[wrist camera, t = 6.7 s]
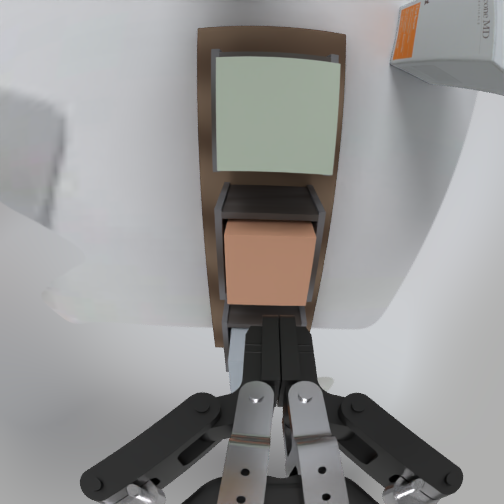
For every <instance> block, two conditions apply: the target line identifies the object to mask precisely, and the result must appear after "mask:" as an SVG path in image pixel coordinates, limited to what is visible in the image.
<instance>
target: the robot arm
mask: <svg viewBox="0 0 504 504" xmlns="http://www.w3.org/2000/svg"><path fill="white" fill-rule="evenodd" d="M313 352H314V351H313V346H312V337H311V334H310V332H309V331H308V329H307V328H306V326H296V321H295V315H279V319H278V315H262V326H250V328H249V329H248V331H247V333H246V335H245V349H244V363H243V376H242V383H241V385H240V387H239V388H238V389H237V390H236V391H234V392H233V393H231V394H228V395H224V396H219V397H215V396H213V395H211V394H208V393H196V394H194V395H192V396H190V397H189V398H188V399H186V400H185V401H184V402H183V403H181V404H180V405H179V406H178V407H176V408H175V409H174V410H172V411H171V412H170V413H168V414H167V415H166V416H165V417H163V418H162V419H161V420H159V421H158V422H157V423H155V424H154V425H152V426H151V427H150V428H149V429H147V430H146V431H144V432H143V433H142V434H140V435H139V436H137V437H136V438H135V439H133V440H132V441H131V442H129V443H127V444H126V445H125V446H123V447H122V448H120V449H119V450H117V451H116V452H114V453H113V454H112V455H110V456H108V457H107V458H106V459H104V460H102V461H101V462H99V463H98V464H96V465H95V466H93V467H92V468H90V469H88V470H87V471H85V472H84V473H83V474H82V476H81V479H80V486H81V489H82V491H83V493H84V494H85V495H86V496H87V497H88V498H90V499H92V500H94V501H97V502H99V503H101V504H165V501H166V497H165V494H164V492H163V490H162V488H164V487H165V486H167V485H168V484H169V483H171V482H172V481H173V480H174V479H176V478H177V477H178V476H180V475H181V474H182V473H183V472H185V471H186V470H187V469H188V468H190V467H191V466H192V465H193V464H195V463H196V462H197V461H198V460H199V459H201V458H202V457H203V456H204V455H205V454H206V453H208V452H209V451H210V450H211V449H212V448H213V447H215V446H216V445H217V444H218V443H219V442H220V441H221V440H222V439H226V438H230V439H229V442H228V447H227V453H226V459H225V464H224V470H223V475H222V477H220V478H216V479H214V480H211V481H209V482H208V483H206V484H204V485H203V486H201V487H200V488H199V489H198V490H197V491H196V492H195V493H193V494H192V495H191V496H190V497H189V498H188V499H186V500H185V501H184V502H183V503H182V504H379V503H378V502H376V501H375V500H374V499H373V498H372V497H371V496H370V495H368V494H367V493H366V492H365V491H364V490H363V489H362V488H361V487H359V486H358V485H357V484H356V483H355V482H353V481H352V480H350V479H348V478H346V477H344V472H343V468H342V462H341V457H340V452H339V449H340V450H341V451H342V452H343V453H344V454H345V455H346V456H347V457H349V458H350V459H351V460H352V461H353V462H354V463H356V464H357V465H358V466H359V467H360V468H361V469H363V470H364V471H365V472H366V473H367V474H369V475H370V476H371V477H372V478H373V479H375V480H376V481H377V482H378V483H380V484H381V485H382V486H383V487H385V489H384V491H383V496H382V497H383V501H384V502H385V504H437V502H438V501H439V500H440V499H441V498H443V497H446V496H448V495H450V494H452V493H454V492H456V491H457V490H458V489H459V488H460V486H461V484H462V481H463V473H462V471H461V469H460V468H459V467H458V466H456V465H455V464H453V463H452V462H451V461H450V460H448V459H447V458H446V457H444V456H443V455H442V454H440V453H439V452H438V451H436V450H435V449H434V448H432V447H431V446H430V445H428V444H427V443H426V442H425V441H423V440H422V439H420V438H419V437H418V436H417V435H415V434H414V433H413V432H412V431H410V430H409V429H408V428H406V427H405V426H404V425H403V424H401V423H400V422H399V421H397V420H396V419H395V418H394V417H393V416H391V415H390V414H388V413H387V412H386V411H385V410H384V409H383V408H381V407H380V406H379V405H378V404H376V403H375V402H374V401H373V400H371V399H370V398H369V397H368V396H366V395H364V394H361V393H352V394H350V395H348V396H346V397H341V396H337V395H332V394H329V393H327V392H326V391H324V390H323V389H322V388H321V387H320V385H319V383H318V380H317V374H316V366H315V358H314V353H313ZM276 404H277V405H278V407H283V418H282V428H283V437H284V447H285V457H286V461H285V472H286V478H276V477H271V476H267V470H268V460H269V452H270V435H271V425H272V417H273V411H274V407H276Z"/></svg>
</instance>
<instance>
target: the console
mask: <svg viewBox="0 0 504 504" xmlns="http://www.w3.org/2000/svg"><path fill="white" fill-rule="evenodd" d="M243 56H251V57H282V58H297V59H308V60H317V61H325V62H332V63H339V64H341V65H340V89H339V106H338V121H337V133H336V145H335V155H334V165H333V174H332V175H322V174H307V173H289V172H263V171H217V144H216V57H243ZM345 59H346V35H345V34H340V33H334V32H327V31H320V30H312V29H303V28H291V27H275V26H224V27H208V28H198V37H197V103H198V140H199V164H200V184H201V201H202V216H203V229H204V242H205V254H206V265H207V276H208V286H209V296H210V306H211V315H212V323H213V331H214V340H215V347H222V348H224V353H225V363H226V371H227V372H229V367H228V356H229V347H230V338H231V329H232V327H234V328H250V326H262V315H278V319H279V315H295V321H296V326H306V328H307V329H308V331H309V332H310V329H311V325H312V320H313V316H314V311H315V306H316V301H317V297H318V292H319V287H320V281H321V276H322V271H323V265H324V260H325V254H326V248H327V242H328V236H329V229H330V223H331V216H332V209H333V202H334V195H335V187H336V179H337V170H338V161H339V152H340V141H341V130H342V118H343V103H344V86H345ZM228 219H266V220H296V221H311V223H312V226H313V229H314V232H315V235H316V244H315V251H314V258H313V264H312V270H311V277H310V283H309V289H308V295H307V300H306V306H277V305H240V304H227V287H226V267H225V244H224V233H225V229H226V225H227V221H228Z"/></svg>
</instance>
